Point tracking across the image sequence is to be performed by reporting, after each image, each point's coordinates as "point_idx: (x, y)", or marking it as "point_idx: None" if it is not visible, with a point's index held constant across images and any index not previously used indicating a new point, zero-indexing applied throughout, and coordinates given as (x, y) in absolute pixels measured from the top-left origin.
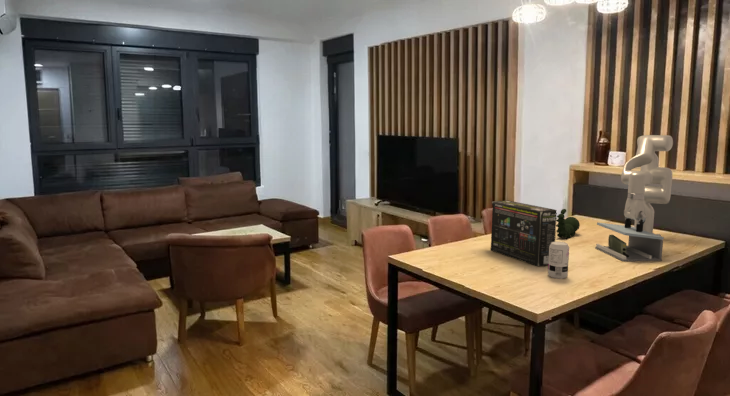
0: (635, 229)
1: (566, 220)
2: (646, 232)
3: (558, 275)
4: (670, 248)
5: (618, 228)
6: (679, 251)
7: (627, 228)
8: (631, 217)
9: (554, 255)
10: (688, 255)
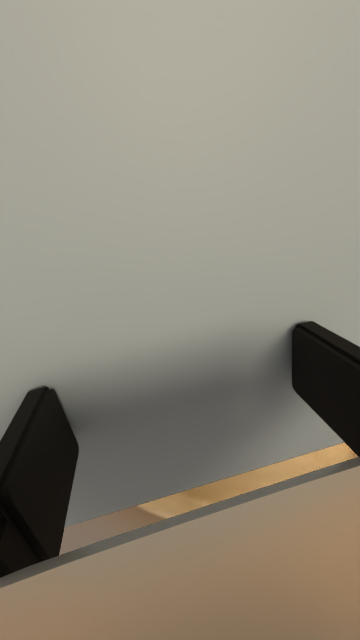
0: (254, 415)
1: None
2: (133, 476)
3: None
4: (265, 482)
5: (108, 112)
6: (219, 499)
7: (262, 339)
8: (92, 618)
9: None
10: (156, 513)
